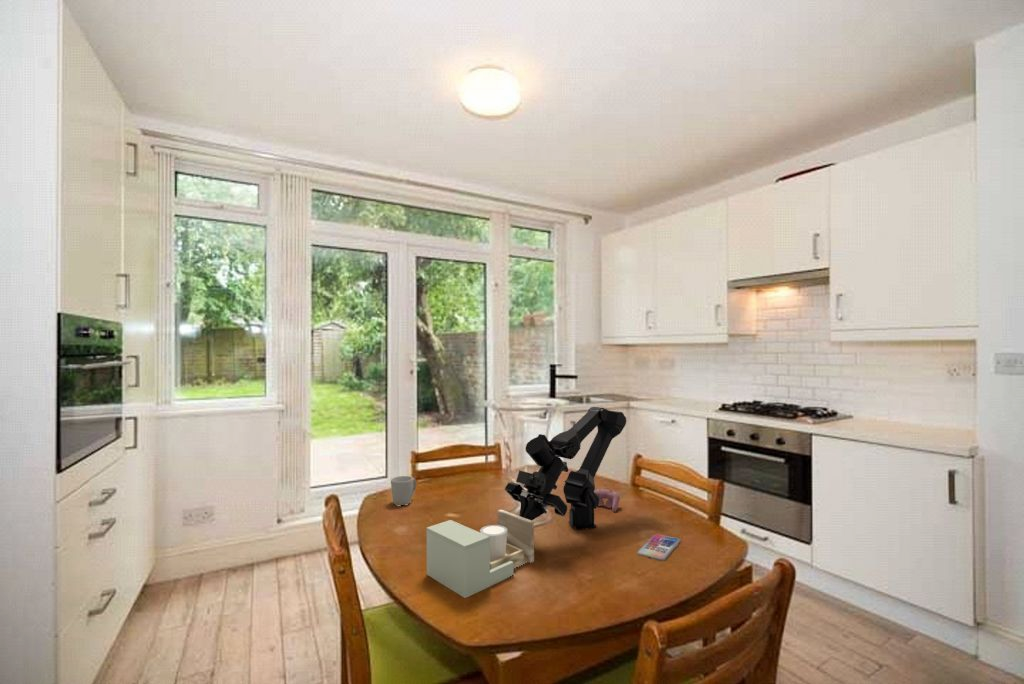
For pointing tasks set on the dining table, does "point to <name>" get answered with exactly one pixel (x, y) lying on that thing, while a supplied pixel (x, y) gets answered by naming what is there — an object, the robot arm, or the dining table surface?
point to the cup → (402, 489)
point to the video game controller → (609, 495)
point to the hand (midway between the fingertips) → (519, 526)
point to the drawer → (516, 540)
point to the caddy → (462, 559)
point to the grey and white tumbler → (496, 540)
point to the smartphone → (659, 547)
